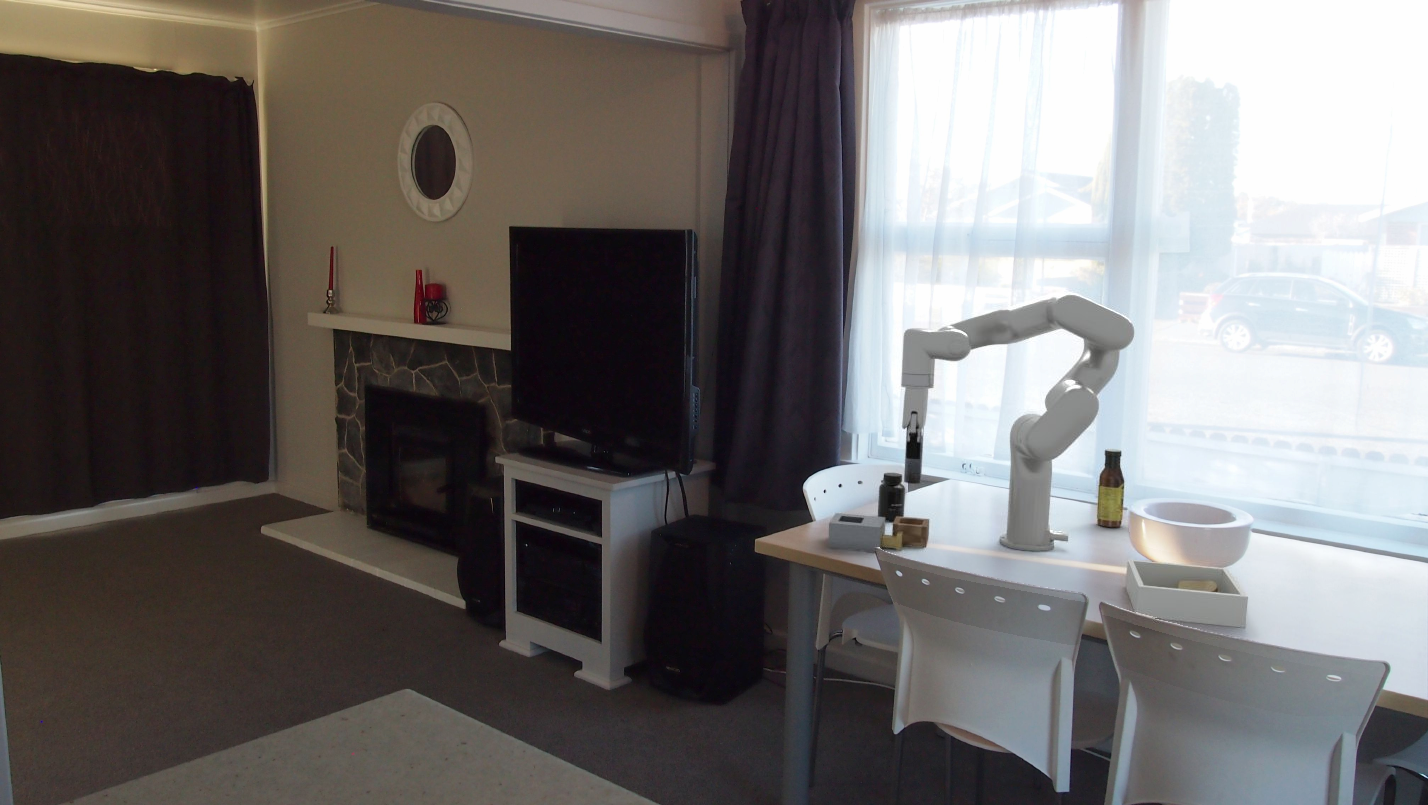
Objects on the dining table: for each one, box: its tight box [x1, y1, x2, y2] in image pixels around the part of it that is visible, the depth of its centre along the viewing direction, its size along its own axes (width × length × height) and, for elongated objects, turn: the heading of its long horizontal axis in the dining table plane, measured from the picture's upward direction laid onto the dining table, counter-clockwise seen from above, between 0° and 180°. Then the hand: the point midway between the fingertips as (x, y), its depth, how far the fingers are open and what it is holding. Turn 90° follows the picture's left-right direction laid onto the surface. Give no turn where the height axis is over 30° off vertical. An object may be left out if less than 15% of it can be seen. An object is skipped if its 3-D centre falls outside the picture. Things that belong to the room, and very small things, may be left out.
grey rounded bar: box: [903, 423, 925, 485], centre depth 243 cm, size 4×4×14 cm
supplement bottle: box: [877, 472, 906, 522], centre depth 267 cm, size 7×7×12 cm
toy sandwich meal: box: [1157, 581, 1218, 593], centre depth 204 cm, size 12×14×5 cm
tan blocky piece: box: [881, 531, 904, 551], centre depth 241 cm, size 9×4×4 cm, turn 74°
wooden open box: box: [891, 516, 930, 549], centre depth 246 cm, size 8×8×5 cm
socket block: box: [827, 512, 886, 553], centre depth 242 cm, size 12×10×6 cm
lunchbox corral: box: [1125, 559, 1249, 629], centre depth 202 cm, size 19×19×6 cm
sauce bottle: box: [1096, 448, 1125, 528], centre depth 264 cm, size 6×6×20 cm
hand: (913, 456), depth 243 cm, fingers closed on grey rounded bar, 4 cm apart
